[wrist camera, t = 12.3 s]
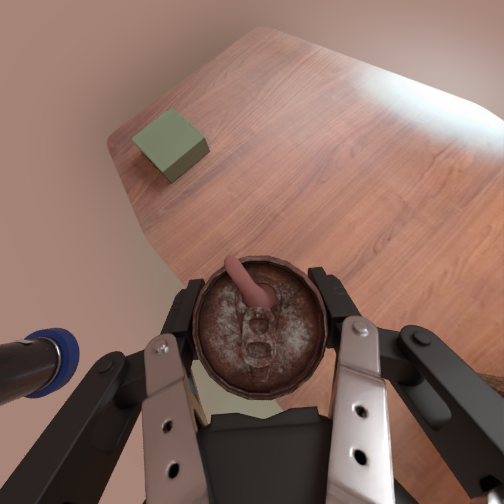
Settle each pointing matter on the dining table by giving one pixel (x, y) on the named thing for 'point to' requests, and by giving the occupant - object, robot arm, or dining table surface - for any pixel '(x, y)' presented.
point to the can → (259, 327)
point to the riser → (171, 144)
